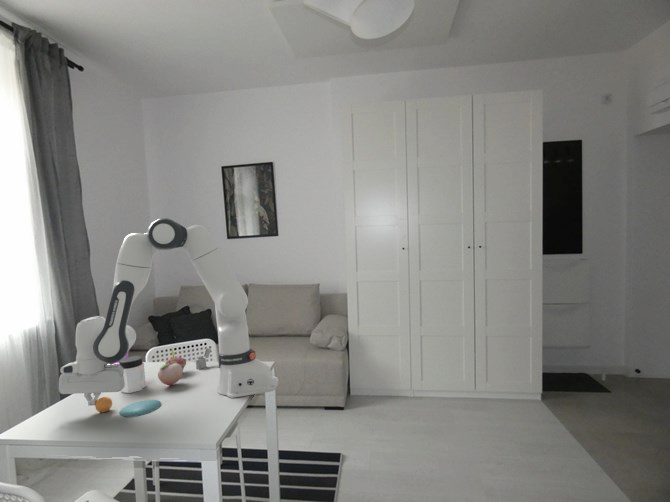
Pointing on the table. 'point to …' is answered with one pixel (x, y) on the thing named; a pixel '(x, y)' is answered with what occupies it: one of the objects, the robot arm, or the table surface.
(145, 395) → the table surface
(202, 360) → the lighter
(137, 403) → the disc
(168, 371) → the decorative fruit
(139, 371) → the jar
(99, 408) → the ball
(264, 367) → the robot arm
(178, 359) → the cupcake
